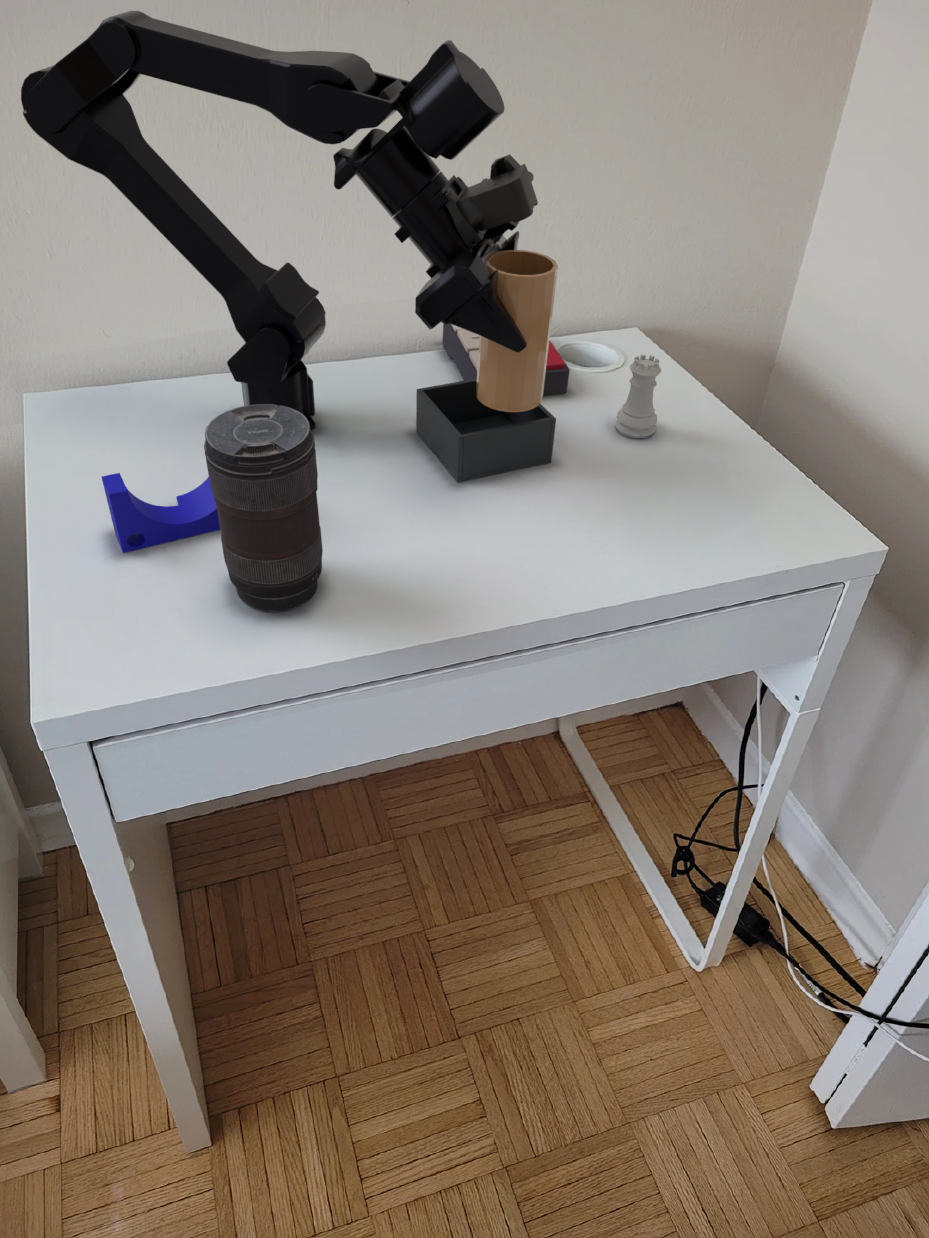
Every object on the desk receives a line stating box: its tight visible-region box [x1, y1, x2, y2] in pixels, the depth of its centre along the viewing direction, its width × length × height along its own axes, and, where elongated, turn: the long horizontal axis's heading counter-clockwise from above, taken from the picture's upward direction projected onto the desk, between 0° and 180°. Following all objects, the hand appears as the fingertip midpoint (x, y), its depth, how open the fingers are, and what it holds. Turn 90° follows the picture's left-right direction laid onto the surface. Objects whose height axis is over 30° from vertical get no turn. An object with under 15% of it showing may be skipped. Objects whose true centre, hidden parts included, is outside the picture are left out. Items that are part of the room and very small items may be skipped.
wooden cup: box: [476, 249, 559, 412], centre depth 88 cm, size 6×6×13 cm
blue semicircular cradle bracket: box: [101, 472, 220, 554], centre depth 84 cm, size 12×4×6 cm, turn 118°
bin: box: [415, 379, 557, 483], centre depth 96 cm, size 10×10×5 cm
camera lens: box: [203, 404, 324, 613], centre depth 74 cm, size 8×8×15 cm
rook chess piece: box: [614, 354, 662, 439], centre depth 99 cm, size 4×4×8 cm
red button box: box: [442, 323, 570, 396], centre depth 111 cm, size 11×4×15 cm
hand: (529, 334), depth 88 cm, fingers closed on wooden cup, 6 cm apart
